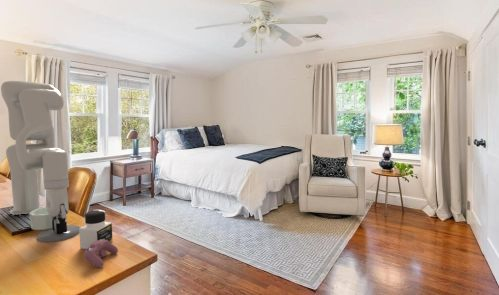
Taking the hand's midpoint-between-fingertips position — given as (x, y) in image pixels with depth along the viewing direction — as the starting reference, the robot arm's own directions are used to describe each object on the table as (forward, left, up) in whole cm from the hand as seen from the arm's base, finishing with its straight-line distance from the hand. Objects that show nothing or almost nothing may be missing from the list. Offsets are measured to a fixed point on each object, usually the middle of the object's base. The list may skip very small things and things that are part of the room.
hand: (59, 230), depth 102 cm
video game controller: (+31, +3, -2) cm, 31 cm away
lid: (0, 0, -2) cm, 2 cm away
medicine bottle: (+20, +6, -2) cm, 21 cm away
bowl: (-14, 0, -1) cm, 14 cm away
